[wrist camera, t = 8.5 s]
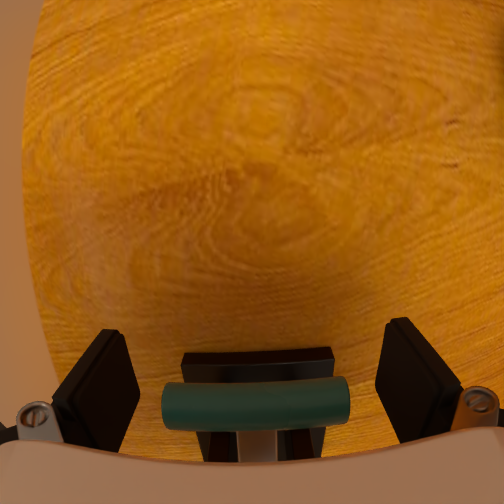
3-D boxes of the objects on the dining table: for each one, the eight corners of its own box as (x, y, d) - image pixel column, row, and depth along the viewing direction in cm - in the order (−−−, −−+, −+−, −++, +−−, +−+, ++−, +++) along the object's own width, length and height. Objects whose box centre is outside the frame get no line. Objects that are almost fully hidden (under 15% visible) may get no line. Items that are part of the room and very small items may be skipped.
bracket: (184, 351, 17) (119, 576, 4) (330, 345, 17) (404, 569, 4) (207, 457, 20) (189, 611, 7) (317, 453, 19) (343, 606, 7)
